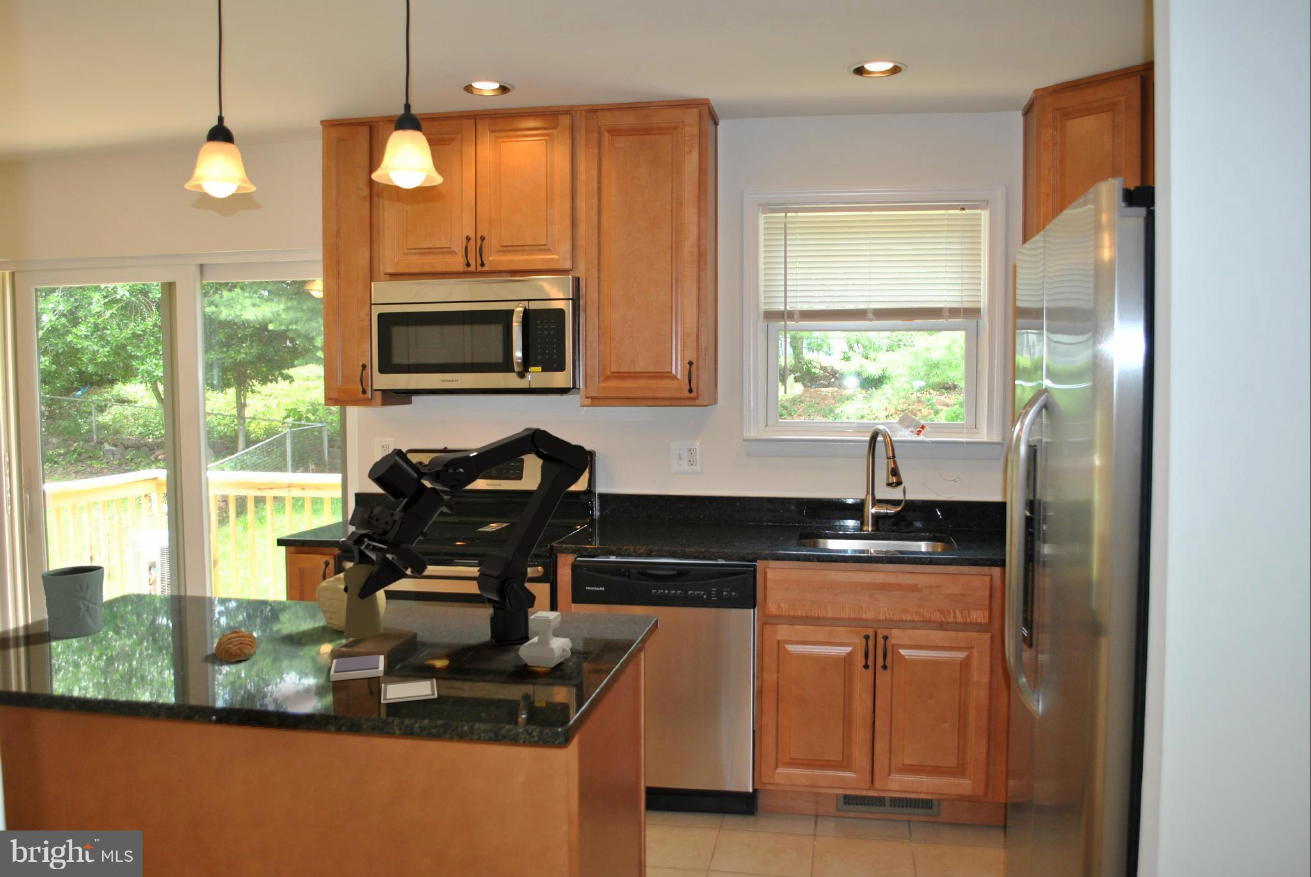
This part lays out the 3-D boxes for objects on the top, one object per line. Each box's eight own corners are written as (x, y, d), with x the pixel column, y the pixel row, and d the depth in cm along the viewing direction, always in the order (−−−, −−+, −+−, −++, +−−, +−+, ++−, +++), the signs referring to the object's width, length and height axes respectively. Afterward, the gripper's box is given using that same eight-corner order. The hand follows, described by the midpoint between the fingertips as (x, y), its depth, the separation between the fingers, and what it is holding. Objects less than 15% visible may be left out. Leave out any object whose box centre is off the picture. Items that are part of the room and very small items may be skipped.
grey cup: (48, 643, 171) (44, 578, 171) (42, 631, 179) (38, 569, 178) (111, 632, 178) (108, 570, 177) (102, 621, 186) (99, 562, 185)
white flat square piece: (435, 680, 147) (435, 678, 147) (437, 697, 140) (436, 695, 140) (382, 685, 145) (382, 683, 145) (381, 703, 138) (381, 700, 138)
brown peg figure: (368, 639, 147) (364, 571, 146) (336, 637, 148) (332, 569, 147) (390, 628, 152) (387, 562, 151) (359, 626, 154) (355, 560, 153)
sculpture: (307, 630, 177) (305, 574, 176) (358, 616, 187) (356, 563, 187) (348, 639, 171) (346, 581, 170) (398, 623, 181) (396, 568, 181)
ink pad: (383, 661, 158) (383, 653, 158) (382, 675, 150) (382, 667, 150) (333, 665, 156) (333, 658, 156) (330, 680, 148) (330, 672, 148)
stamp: (512, 668, 153) (510, 617, 153) (530, 656, 159) (529, 607, 159) (562, 673, 150) (561, 621, 150) (579, 660, 157) (577, 611, 156)
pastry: (262, 660, 160) (261, 638, 159) (219, 667, 156) (217, 645, 156) (254, 647, 168) (253, 626, 168) (213, 653, 164) (212, 632, 164)
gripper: (354, 482, 158) (292, 557, 151) (406, 492, 144) (340, 574, 138) (399, 522, 164) (341, 596, 157) (453, 535, 150) (392, 616, 143)
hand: (352, 595), depth 149 cm, fingers closed on brown peg figure, 5 cm apart
